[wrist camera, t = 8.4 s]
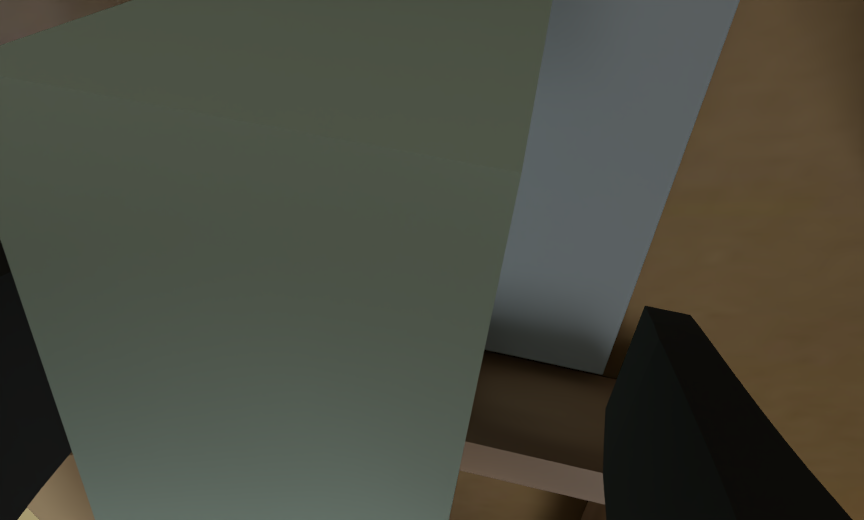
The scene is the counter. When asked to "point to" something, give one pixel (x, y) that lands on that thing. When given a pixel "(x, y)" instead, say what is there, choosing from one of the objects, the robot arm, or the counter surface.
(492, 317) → the slate mat
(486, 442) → the walnut rack
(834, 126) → the counter surface
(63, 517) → the offcut top
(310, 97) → the sage panel
